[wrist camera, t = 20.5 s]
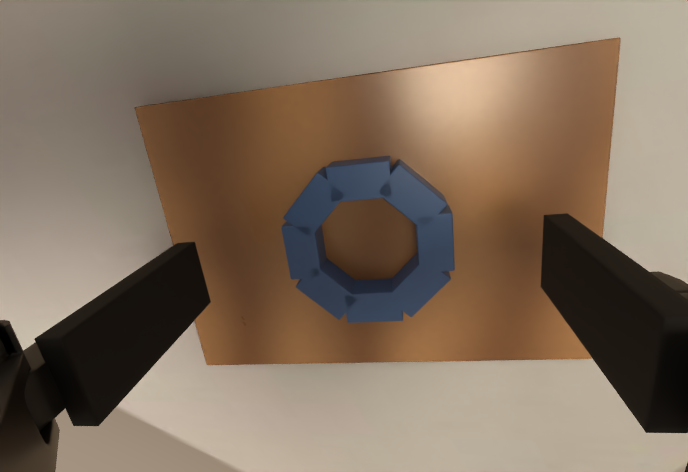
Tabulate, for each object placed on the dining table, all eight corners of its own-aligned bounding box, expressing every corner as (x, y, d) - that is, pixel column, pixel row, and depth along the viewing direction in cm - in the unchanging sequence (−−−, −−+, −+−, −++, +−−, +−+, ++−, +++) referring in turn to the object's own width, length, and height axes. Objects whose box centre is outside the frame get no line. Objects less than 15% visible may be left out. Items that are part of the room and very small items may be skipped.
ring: (305, 309, 20) (298, 325, 19) (280, 167, 18) (270, 173, 16) (452, 302, 19) (456, 319, 17) (446, 149, 16) (450, 154, 15)
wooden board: (210, 361, 22) (206, 365, 22) (139, 107, 18) (134, 107, 18) (588, 353, 19) (591, 359, 19) (615, 38, 15) (621, 37, 14)
